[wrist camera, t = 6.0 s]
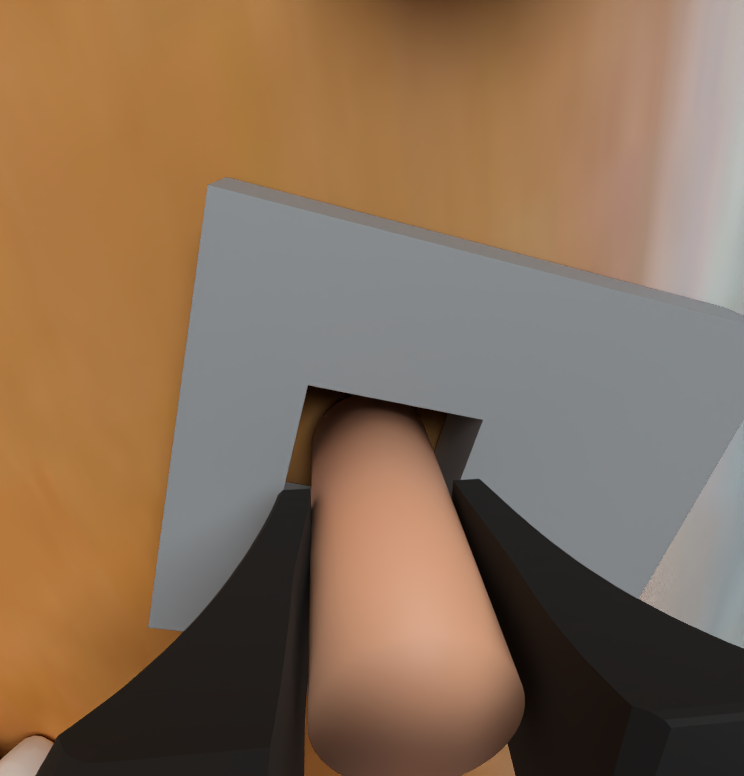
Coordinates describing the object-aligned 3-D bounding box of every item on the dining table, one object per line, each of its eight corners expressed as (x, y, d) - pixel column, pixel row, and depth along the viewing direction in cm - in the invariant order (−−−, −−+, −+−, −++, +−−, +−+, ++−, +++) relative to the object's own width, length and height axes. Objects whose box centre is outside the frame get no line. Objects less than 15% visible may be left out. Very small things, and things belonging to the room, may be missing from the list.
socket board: (723, 307, 16) (792, 335, 13) (562, 615, 20) (593, 676, 18) (226, 177, 13) (207, 184, 11) (170, 564, 18) (148, 627, 15)
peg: (424, 387, 15) (530, 625, 7) (428, 487, 16) (519, 771, 9) (306, 399, 15) (294, 655, 7) (318, 498, 16) (320, 800, 9)
